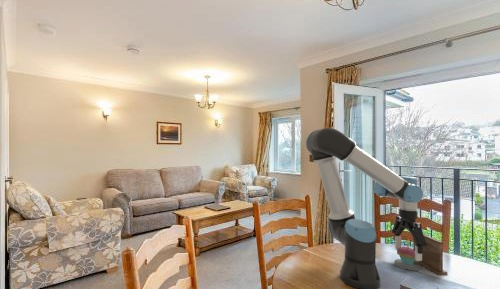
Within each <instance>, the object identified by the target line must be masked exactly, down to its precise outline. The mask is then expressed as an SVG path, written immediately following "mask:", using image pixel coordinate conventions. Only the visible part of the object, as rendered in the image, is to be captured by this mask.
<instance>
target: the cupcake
mask: <svg viewBox="0 0 500 289" xmlns="http://www.w3.org/2000/svg"><path fill="white" fill-rule="evenodd" d="M409 239H410V238H408V239H407V242H406V243H407V245H406V246H401V247H400V248H398V249H397V250H396V254H397V255H399V257H400V258H399V259H401V262H402V263H404V264H408V265H413V263H414V261H415V250H413V248H411V247H410V240H409Z"/></svg>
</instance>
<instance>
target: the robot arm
mask: <svg viewBox="0 0 500 289" xmlns="http://www.w3.org/2000/svg"><path fill="white" fill-rule="evenodd" d="M305 146H306V149H307V151H308V152H309V153H310V154H311V158H312V161H313V162H314V163H316V165H317V168H318V172H319V175H320V179H321V183H322V186H323V190H324V193H325V197H326V198H325V199H326V202H327V205H328V207H329V214H328V215H327V218H328V222H327V223H328V224H327V228H328V232H329V233H330V235H331V236H332V237H333V239H334V240H336V241H338V242H339V243H340V244H341V245H343V246H344V260H343V262H342V265H341V268H340V271H339V278H340V280H341V281H342V282H343V283H345V284H346V285H349V286H351V287H353V288H356V289H379V288H380V287H381V277H380V275H379V271H378V268H377V264H376V259H377V258H376V255H377V254H376V252H377V250H376V246H377V244H376V243H377V242H376V241H377V233H376V232H377V230H376V228H375V226H374V224H372V223H371V222H368V221H365V220H363V219H359V218H358V219H357V218H356V215H355V212H354V211H353V210H352V209H350V208H349V203H348V200H347V196H346V192H345V188H344V186H343V182H342V178H341V174H340V170H339V168H338V162H337V159H338V160H340V161H341V162H342V161H345V162H347V163H348V164H350V165H351V166H352V167H354V168H355V169H357V170H358V171H360V172H361V173H363V175H366V176H367V177H369V178H370V179H371V180H373V181H374V182H375V183H374V185H373V191H374V193H375V194H376V195H377V197H383V198H384V197H387V198H392V199H396V200H398V208H399V209H398V215H397V216H396V217H395V220H394V224H393V227H392V230H391V233H392V234H393V235H394V241H395V242H394V250H396V251H397V249H398V248H400V247H402V235H401V234H402V233H403V232H404V231H405V229H406V230H408V232H410V234H411V236H412V239H413V238H414V240H415V242H416V244H417V245H415V260H416V261H422V254H423V246H427V243H426V240H425V237H424V235H425V234H424V231H423V228H422V223H421V222H417V221H416V220H417V219H418V203H419V202H421V200H422V199H423V197H424V190H423V189H422V187H421V186H419V184H418V179H417V177H414V176H406V175H405V176H403V175H402V176H400V175H398V174H397V173H395V172H394V171H392V170H391V169H390V168H388V167H387V166H385V165H384V164H383V163H382V162H380V161H378V160H377V159H375V158H374V157H372V156H371V155H370V154H369V153H367V152H366V151H364V150H363V149H361V148H360V147H358V146H357V143H356V141H355V140H353V139H352V138H350V137H349V136H347V135H346V134H345V133H343V132H341V131H339V130H338V129H336V128H333V127H323V128H321V129H316V130H312V132H310V133H309V134H308V135H307V138H306V139H305Z"/></svg>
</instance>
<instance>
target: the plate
mask: <svg viewBox="0 0 500 289" xmlns="http://www.w3.org/2000/svg"><path fill="white" fill-rule="evenodd" d="M394 265H395V266H396V267H398V266H399V267H398V268H400V267H401V268H400V269H402V268H404V269H403V270H405V269H408V270H407V271H410V270H413V272H419V271H422V268H423V267H422V266H421V265H420V264H419V263H416V262H414V263H413V265H408V264H404V263H402V262H401V258H397V259H394Z"/></svg>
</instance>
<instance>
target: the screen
mask: <svg viewBox="0 0 500 289" xmlns="http://www.w3.org/2000/svg"><path fill="white" fill-rule="evenodd" d="M424 237H425V240H426V243H427V246H423V254H422V261H416V260H415V261H414V262H416V263H419V264H420V265H421V266H422V268H424V269H426V270H428V271H429V272H431V273H433V274H434V275H436V276H442V275H443V276H447V275H448V271H446V270H444V252H443V251H444V241H442V240H438V239H436V238H434V237H430V236H429V235H425V234H424ZM412 239H413V244H412V246H413V248H412V249H413V250H415V245H417V244H416V242H415V240H414V238H413V237H412Z"/></svg>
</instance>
